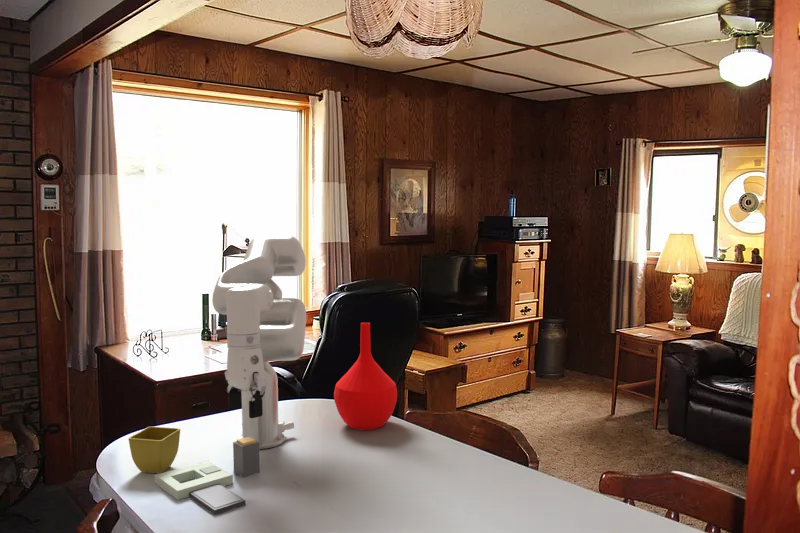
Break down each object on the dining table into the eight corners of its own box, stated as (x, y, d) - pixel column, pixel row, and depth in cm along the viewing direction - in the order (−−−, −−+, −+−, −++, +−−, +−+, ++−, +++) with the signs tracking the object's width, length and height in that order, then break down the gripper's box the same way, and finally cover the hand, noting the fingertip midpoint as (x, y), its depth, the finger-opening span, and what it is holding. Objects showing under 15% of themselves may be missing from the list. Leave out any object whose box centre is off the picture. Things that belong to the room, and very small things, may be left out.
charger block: (250, 467, 160) (249, 435, 159) (259, 472, 157) (259, 439, 156) (233, 472, 157) (233, 439, 156) (243, 477, 154) (242, 444, 153)
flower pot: (162, 478, 154) (161, 440, 153) (128, 475, 155) (127, 437, 155) (182, 464, 162) (181, 428, 161) (150, 461, 164) (148, 426, 163)
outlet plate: (208, 468, 159) (208, 459, 159) (232, 483, 150) (232, 473, 150) (155, 483, 151) (154, 473, 150) (177, 499, 142) (177, 489, 142)
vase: (334, 416, 200) (332, 318, 198) (394, 414, 202) (393, 317, 200) (334, 436, 182) (333, 329, 180) (400, 434, 184) (400, 327, 182)
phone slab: (218, 487, 148) (218, 482, 148) (245, 504, 139) (245, 499, 139) (188, 496, 143) (188, 491, 143) (214, 515, 135) (214, 509, 134)
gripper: (277, 343, 150) (278, 417, 151) (240, 334, 163) (241, 402, 164) (248, 347, 145) (249, 424, 146) (211, 337, 158) (213, 408, 159)
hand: (245, 412), depth 155 cm, fingers open, 9 cm apart
